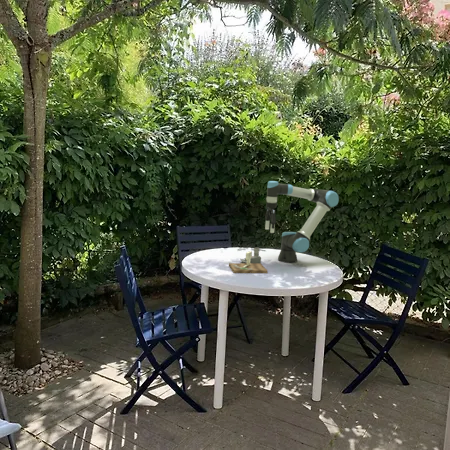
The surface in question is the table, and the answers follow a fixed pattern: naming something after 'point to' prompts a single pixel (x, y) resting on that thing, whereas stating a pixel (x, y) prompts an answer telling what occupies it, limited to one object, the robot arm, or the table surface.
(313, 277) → the table surface
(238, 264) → the tuner board
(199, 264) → the table surface
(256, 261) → the camera
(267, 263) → the table surface
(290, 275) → the table surface
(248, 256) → the cream pointer block
